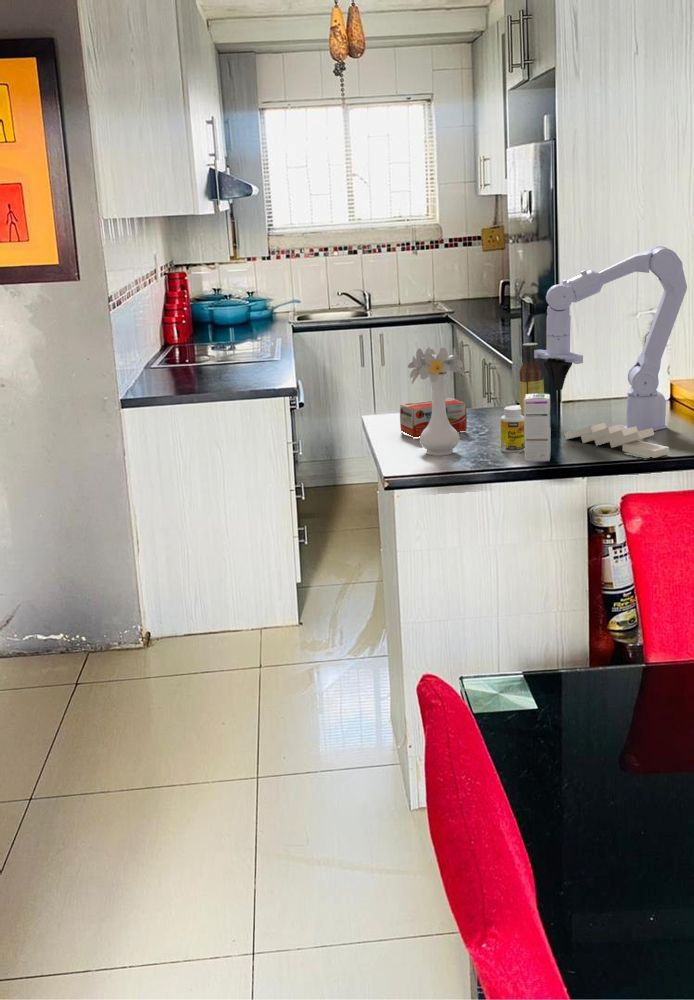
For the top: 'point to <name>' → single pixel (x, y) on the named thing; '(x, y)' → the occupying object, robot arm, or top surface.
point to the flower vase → (437, 398)
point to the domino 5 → (645, 449)
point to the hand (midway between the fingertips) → (557, 389)
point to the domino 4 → (632, 437)
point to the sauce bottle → (530, 374)
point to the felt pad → (635, 454)
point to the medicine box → (419, 416)
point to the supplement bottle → (512, 430)
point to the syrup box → (537, 427)
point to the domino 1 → (584, 431)
